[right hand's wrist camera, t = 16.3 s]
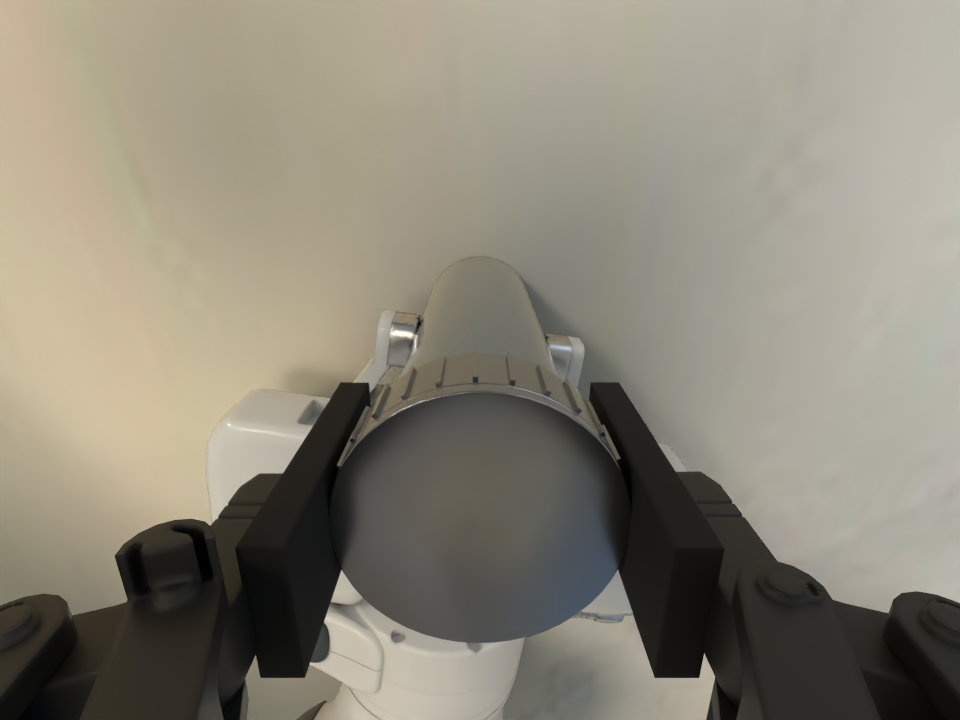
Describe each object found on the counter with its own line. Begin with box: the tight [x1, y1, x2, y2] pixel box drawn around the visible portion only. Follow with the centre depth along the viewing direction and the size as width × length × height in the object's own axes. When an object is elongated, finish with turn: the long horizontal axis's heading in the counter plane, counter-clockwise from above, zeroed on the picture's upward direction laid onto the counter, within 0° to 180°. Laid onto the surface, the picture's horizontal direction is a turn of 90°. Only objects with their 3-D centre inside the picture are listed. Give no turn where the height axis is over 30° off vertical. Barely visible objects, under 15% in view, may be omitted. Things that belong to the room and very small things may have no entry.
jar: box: [399, 257, 560, 378], centre depth 19 cm, size 5×5×17 cm
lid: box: [328, 351, 631, 643], centre depth 11 cm, size 6×6×2 cm
